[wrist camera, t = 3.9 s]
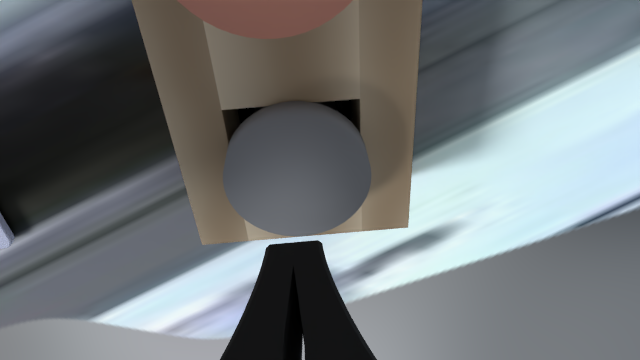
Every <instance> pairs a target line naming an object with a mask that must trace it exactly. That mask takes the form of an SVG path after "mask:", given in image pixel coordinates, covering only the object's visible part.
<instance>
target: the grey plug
mask: <svg viewBox="0 0 640 360" xmlns="http://www.w3.org/2000/svg"><path fill="white" fill-rule="evenodd" d="M223 185H224V190H225V193H226V196H227V198H228V200H229V202H230V204H231V205H232V207H233V208H234V209H235V211H236V212H237V213H238V214H239V215H240V216H241V217H242V218H244V219H245V220H246V221H247V222H249V223H251V224H252V225H254V226H256V227H258V228H260V229H262V230H264V231H267V232H270V233H274V234H278V235H284V236H308V235H314V234H319V233H322V232H325V231H328V230H331V229H333V228H335V227H337V226H339V225H341V224H342V223H344V222H345V221H347V220H348V219H349V218H351V217H352V216H353V215H354V214H355V213H356V212H357V211H358V209H359V208H360V207H361V206H362V204H363V202H364V201H365V199H366V197H367V195H368V192H369V189H370V185H371V167H370V163H369V158H368V154H367V150H366V146H365V143H364V140H363V138H362V136H361V134H360V132H359V131H358V129H357V128H356V127H355V126H354V124H353V123H352V122H351V121H350V120H349V119H347V118H346V117H345V116H344V115H342V114H341V113H339V112H338V110H337V108H336V106H335V104H334V103H333V101H326V102H306V101H288V102H281V103H277V104H273V105H270V106H265V107H255V110H254V112H253V114H252V115H251V116H249V117H248V118H247V119H245V120H244V121H243V122H242V123H241V124H240V125H239V127H238V128H237V129H236V131H235V132H234V134H233V136H232V137H231V139H230V142H229V145H228V148H227V153H226V159H225V164H224V169H223Z"/></svg>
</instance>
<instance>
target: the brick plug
mask: <svg viewBox="0 0 640 360" xmlns="http://www.w3.org/2000/svg"><path fill="white" fill-rule="evenodd" d="M177 1H178V2H179V3H181V4H182V5H183V6H184V7H185V8H186V9H188V10H189V11H190V12H191V13H193V14H194V15H196V16H197V17H199V18H200V19H202V20H203V21H205V22H207V23H209V24H210V25H212V26H214V27H216V28H218V29H221V30H224V31H226V32H229V33H232V34H235V35H240V36H244V37H249V38H258V39H278V38H285V37H291V36H295V35H298V34H302V33H305V32H308V31H310V30H312V29H315V28H317V27H319V26H321V25H322V24H324V23H326V22H327V21H329V20H331V19H332V18H334V17H335V16H336V15H337V14H339V13H340V12H341V11H343V10H344V9H345V8H346V7H347V6H348V5H349V4H350V3H351V2H352V1H353V0H177Z"/></svg>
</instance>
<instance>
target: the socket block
mask: <svg viewBox="0 0 640 360" xmlns="http://www.w3.org/2000/svg"><path fill="white" fill-rule="evenodd" d="M132 3H133V7H134V10H135V14H136V17H137V21H138V24H139V28H140V31H141V34H142V38H143V41H144V45H145V48H146V52H147V55H148V59H149V62H150V66H151V69H152V72H153V76H154V79H155V83H156V86H157V90H158V93H159V97H160V100H161V104H162V107H163V111H164V114H165V117H166V121H167V124H168V128H169V131H170V135H171V138H172V142H173V145H174V149H175V152H176V155H177V159H178V162H179V166H180V169H181V173H182V176H183V180H184V183H185V187H186V190H187V193H188V197H189V200H190V204H191V207H192V211H193V214H194V218H195V221H196V225H197V228H198V231H199V235H200V238H201V242H202V245H205V244H217V243H228V242H240V241H252V240H264V239H276V238H288V237H300V236H284V235H278V234H274V233H270V232H267V231H264V230H262V229H260V228H258V227H256V226H254V225H252V224H251V223H249V222H247V221H246V220H245V219H244V218H242V217H241V216H240V215H239V214H238V213H237V212H236V211H235V209H234V208H233V207H232V205H231V204H230V202H229V200H228V198H227V196H226V193H225V190H224V185H223V169H224V164H225V159H226V153H227V148H228V145H229V142H230V139H231V137H232V136H233V134H234V132H235V131H236V129H237V128H238V127H239V125H240V120H239V114H238V109H240V108H253V107H265V106H270V105H273V104H277V103H281V102H288V101H306V102H326V101H338V100H350V99H351V119H352V123H353V124H354V126H355V127H356V128H357V129H358V131H359V132H360V134H361V136H362V138H363V140H364V143H365V146H366V150H367V154H368V158H369V163H370V167H371V185H370V189H369V192H368V195H367V197H366V199H365V201H364V202H363V204H362V206H361V207H360V208H359V209H358V211H357V212H356V213H355V214H354V215H353V216H352V217H351V218H349V219H348V220H347V221H345V222H344V223H342V224H341V225H339V226H337V227H335V228H333V229H331V230H328V231H325V232H322V233H319V234H314V235H323V234H335V233H347V232H359V231H371V230H383V229H394V228H406V227H408V220H409V204H410V189H411V173H412V157H413V141H414V126H415V110H416V94H417V79H418V63H419V47H420V31H421V16H422V0H353V1H352V2H351V3H350V4H349V5H348V6H347V7H346V8H345V9H344V10H343V11H341V12H340V13H339V14H337V15H336V16H335V17H334V18H332V19H331V20H329V21H327V22H326V23H324V24H322V25H321V26H319V27H317V28H315V29H312V30H310V31H308V32H305V33H302V34H298V35H295V36H291V37H285V38H278V39H258V38H249V37H244V36H240V35H235V34H232V33H229V32H226V31H224V30H221V29H218V28H216V27H214V26H212V25H210V24H209V23H207V22H205V21H203V20H202V19H200V18H199V17H197V16H196V15H194V14H193V13H191V12H190V11H189V10H188V9H186V8H185V7H184V6H183V5H182V4H181V3H179V2H178V1H177V0H132ZM308 236H311V235H308Z"/></svg>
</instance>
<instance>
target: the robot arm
mask: <svg viewBox="0 0 640 360" xmlns="http://www.w3.org/2000/svg"><path fill="white" fill-rule="evenodd" d="M13 241H14V235H13V233H12V231H11V230H10V228H9V226H8V225H7V223H6V221H5V220H4V218H3V216H2V215H1V213H0V249H3V248H8V247H9V246H10V245H11V244H12V243H13ZM302 338H304V345H305V360H377V359H376V358H375V356H374V355H373V353H372V351H371V350H370V348H369V347H368V345H367V344H366V342H365V340H364V339H363V337H362V335H361V334H360V332H359V330H358V328H357V327H356V325H355V323H354V321H353V319H352V318H351V316H350V314H349V312H348V310H347V308H346V306H345V304H344V302H343V300H342V298H341V296H340V294H339V292H338V290H337V287H336V285H335V283H334V281H333V278H332V275H331V273H330V270H329V268H328V265H327V262H326V259H325V255H324V251H323V246H322V243H321V242H319V241H318V240H317V241H306V242H294V243H283V244H272V245H269V246H268V247H267V248H266V251H265V256H264V259H263V263H262V266H261V269H260V272H259V275H258V278H257V281H256V284H255V286H254V289H253V291H252V294H251V296H250V299H249V301H248V303H247V306H246V308H245V311H244V313H243V315H242V317H241V319H240V322H239V324H238V326H237V328H236V330H235V332H234V334H233V336H232V338H231V340H230V342H229V344H228V346H227V348H226V350H225V352H224V353H223V355H222V357H221V359H220V360H302Z"/></svg>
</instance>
